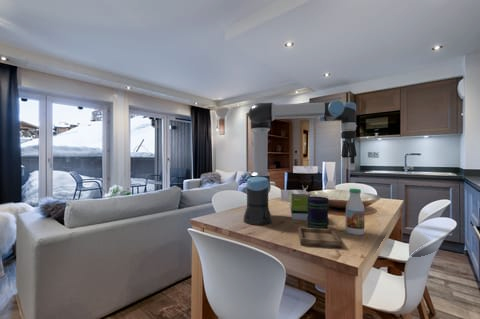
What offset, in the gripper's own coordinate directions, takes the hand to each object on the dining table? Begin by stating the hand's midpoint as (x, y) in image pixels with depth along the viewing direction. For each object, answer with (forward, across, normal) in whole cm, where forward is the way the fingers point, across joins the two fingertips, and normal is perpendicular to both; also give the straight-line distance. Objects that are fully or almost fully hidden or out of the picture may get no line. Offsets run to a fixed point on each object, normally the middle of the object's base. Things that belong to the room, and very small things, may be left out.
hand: (348, 169), depth 125 cm
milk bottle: (+28, -23, +3) cm, 37 cm away
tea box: (+28, +1, +26) cm, 39 cm away
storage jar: (+28, -21, +19) cm, 40 cm away
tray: (+28, -36, +21) cm, 51 cm away
